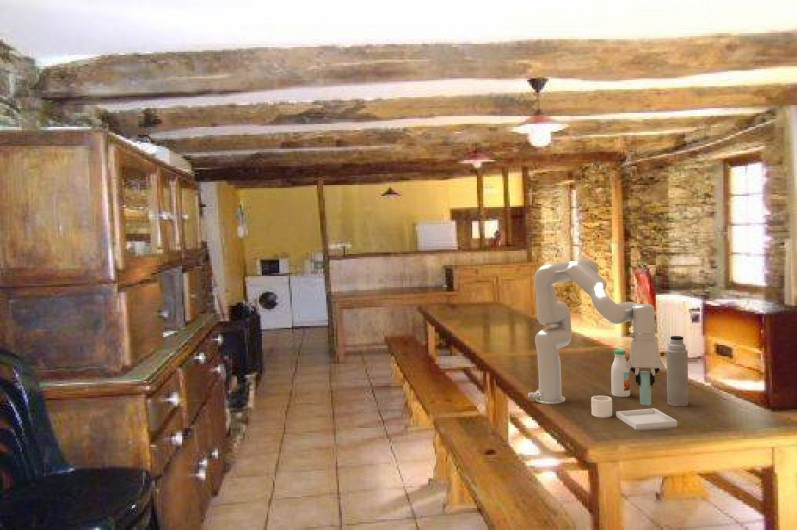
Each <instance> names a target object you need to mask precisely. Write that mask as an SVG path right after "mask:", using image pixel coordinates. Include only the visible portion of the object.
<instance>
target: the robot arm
mask: <svg viewBox="0 0 797 530" xmlns="http://www.w3.org/2000/svg"><path fill="white" fill-rule="evenodd" d="M599 270H600V269H599V266H598V264H597V263H596V262H595V261H594V260H592V259H589V258H586V259H585V258H584V259H578V260H571V261H561V262H552V263H548V264H547V263H546V264H544V265H542V266H540V267H539V268H538V269H537V270H536V271H535V274H534V277H533V284H534V290H535V306H536V319H537V321H538V322H539V324H540V325H543V326H549V327H545V328H543V329H540V330H539V331H538V332H537V333H536V334H535V337H534V344H535V348H536V353H537V355H536V356H537V371H538V374H537V375H538V389H536V391H535V392H528V393H527V396H528V397H527V398H533V399H534V398H535V402H537V403H539V404H542V405H543V404H545V405H546V404H548V405H555V404H561V403H565V402H566V397H565V396H563V395H562V363H561V362H562V361H561V357H560V354H559V352H558V349H561V348H564V347H566V346H568V345H569V344H570V343H571V341H572V336H573V335H572V334H573V333H572V320H571V319H572V316H571V310H570V308H569V306H568V304H567V303H565V302H564V301H562V300H557V292H556V289H555V287H554V286H553V285H554V284H560V283H567V282H574V283H575V284H576V285H577V286H578V287H579V288H580V289H581V290H583V291H584V292H585V293H586V294H587V295H588V296H590V299H591V302H592V304H593V306H594V309H595V310H596V311H597V312H598V313H599V314H600V315H601V316H602V317H603V318H605V320H607V321H609V322H610V323H612V324H616V325H620V324H623V323H627V322H632V327H633V328H632V331H633V332H631V333H629V335H628V336H629V338H632V340H631V343H630V349H629V350H630V351H629V352H630V357H629V359H628V360H627V363H626V365H625V366H626V367H627V368H628V369H629V371H630V372H632V373H633V374H634V375H635V383H636V384H637V386H639V387H640V375H639V372H640V369H641V368H642V369H650V372H651V387H654V385H653V384H655V383H656V375H657V374H658V373H659V372H660V371H662V370H663V369H664V368H665V367H666V366H665V364H664V363H663V362H662V360H661V359H660V350H659V344H658V341H657V340H656V334H655V333H656V332H655V330H656V329H655V321H656V320H655V307H654V306H653V305H652V304H650V303H636V302H633V301H624V302H620V303H619V302H618V303H616V302H615V301H614V300H612V299H611V298H610V297H609V296H608V295H607V293H606V291H605V290H606V288H607V285H608V282H607V281H606V280H605V279H604V278H603V277H602V276H600V275H599V272H600V271H599ZM550 326H551V327H550Z"/></svg>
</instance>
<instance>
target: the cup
mask: <svg viewBox="0 0 797 530" xmlns="http://www.w3.org/2000/svg"><path fill="white" fill-rule="evenodd" d="M590 402H591V403H590V408H591V416H594V417H596V418H610V417H612V416H613V398H612V397H610V396H607V395H593V396H591V398H590Z"/></svg>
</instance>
